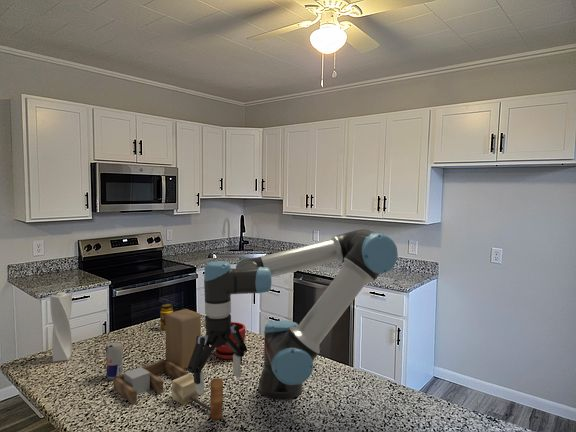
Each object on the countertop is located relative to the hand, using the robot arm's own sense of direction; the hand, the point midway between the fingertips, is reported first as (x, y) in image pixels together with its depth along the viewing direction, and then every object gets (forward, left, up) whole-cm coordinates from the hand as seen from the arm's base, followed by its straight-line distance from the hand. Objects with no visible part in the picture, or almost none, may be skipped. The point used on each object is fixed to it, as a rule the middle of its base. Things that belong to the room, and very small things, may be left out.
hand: (219, 384), depth 115 cm
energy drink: (+46, +11, -10) cm, 49 cm away
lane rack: (+31, +5, -10) cm, 33 cm away
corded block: (+9, +1, -10) cm, 14 cm away
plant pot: (+32, -30, -10) cm, 45 cm away
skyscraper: (+75, +19, -10) cm, 78 cm away
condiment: (+76, -27, -10) cm, 82 cm away
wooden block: (+38, -12, -10) cm, 41 cm away
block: (+32, +10, -10) cm, 35 cm away
